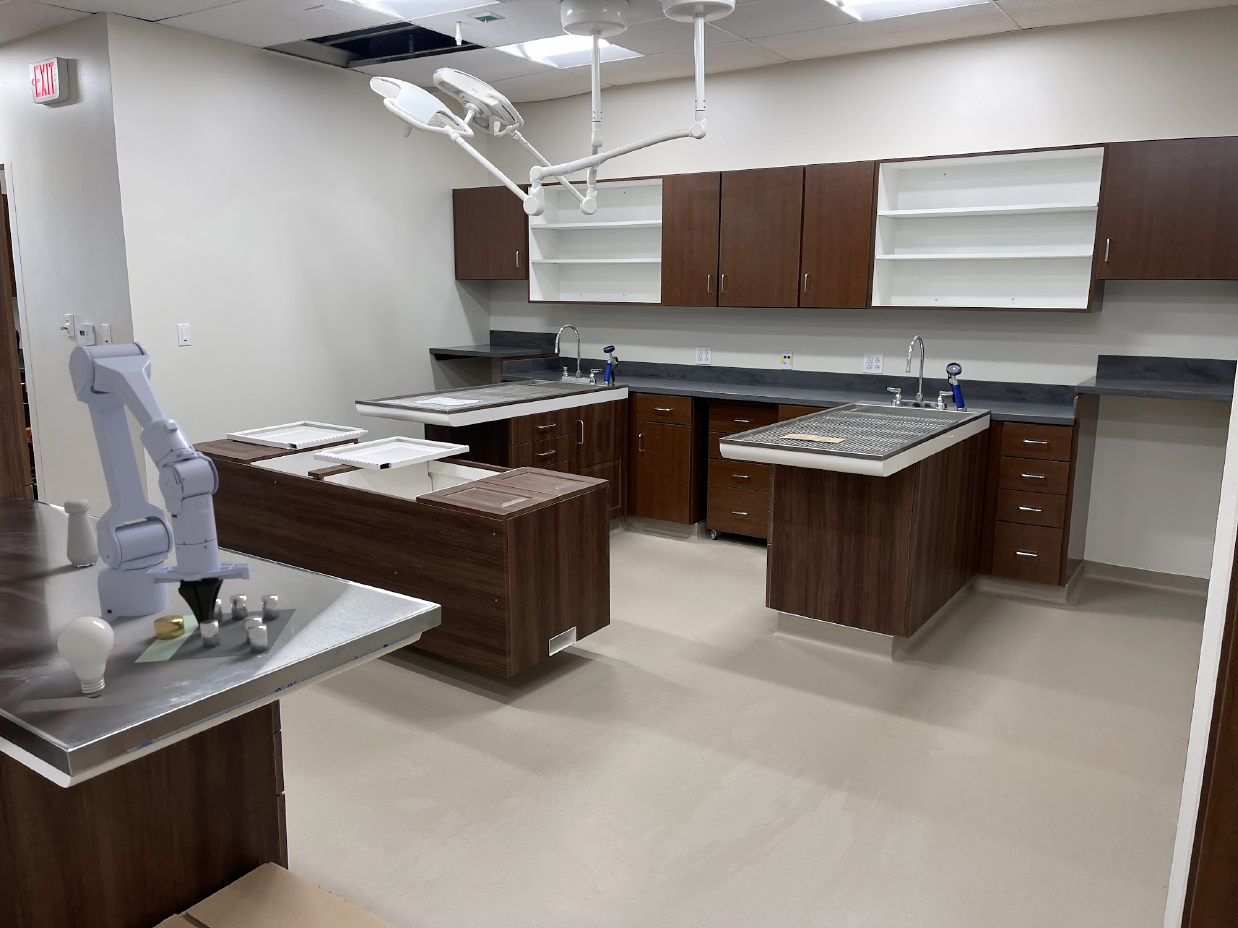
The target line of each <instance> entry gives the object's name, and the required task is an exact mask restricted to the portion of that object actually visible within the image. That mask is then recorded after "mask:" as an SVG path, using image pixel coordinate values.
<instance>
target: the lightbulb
mask: <svg viewBox="0 0 1238 928" xmlns="http://www.w3.org/2000/svg"><path fill="white" fill-rule="evenodd" d="M115 638H116V637H115V632H114V630H113V628H112V626H111V625H110V624H108V623H107V622H106V621H104V620H103V619H102V617H101V618H100V617H97V616H92V615H85V616H79V617H77V618H74V619H73V620H71V621H70V622H68V623H67V624H66V625H64V627H63V628H62V629H60V632H59V634H58V637H57V650H58V652H59V654H60V657H62V659H64V661H66V662H67V663H68V664H69V665H70V666H71V667H72V668H73V669H74V672H75V674H76V676H77V677H78V678H79V681H80V687H81V693H83V694H90V695H83V697H84V698H88V699H98V698H99V697H100V696H101V694H94V695H93V693H96V692H100V691H103V690H104V689H105V686H106V684H105V674H104V673H105V671H106V664H107V660H108V658H109V656H110V654H111V653H112V651H113V648H114V644H115ZM91 694H92V695H91Z"/></svg>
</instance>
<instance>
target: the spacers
mask: <svg viewBox="0 0 1238 928" xmlns="http://www.w3.org/2000/svg"><path fill="white" fill-rule="evenodd" d="M260 599H261V607H262V608H261V609H262V610H261V611H263V619H264V620H275V619H278V618H279V617H280V614H279V610H280V606H279V596H278V594H277V593H268V594H264V595H262V596H261V598H260ZM229 603H230V604H229V605H230V613H231V614H232V619H233V620H243V619H244V624H245V633H246V642H247V643H248V644H250V650H251V652H252V653H261V652H264V651H267V650H268V649H269V647H268V638H267V629H266V624H262V617H261V616H257V615H256V616H249V617H248V612H249V610H248V609H249V608H248V600H247V594H245V593H237V594H232V595H231V596H230V597H229ZM223 613H224V612H223V603H222V598H221V597H217V600H216V604H215V609H214V617H213V619H212V620H206V621H203V622H201V623H200V629H201V637H202V646H203V648H207V649H208V648H215V647H217V646H219V645H220V644H221V643H220V634H219V626H218V623H220V622H222V621H223Z"/></svg>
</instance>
